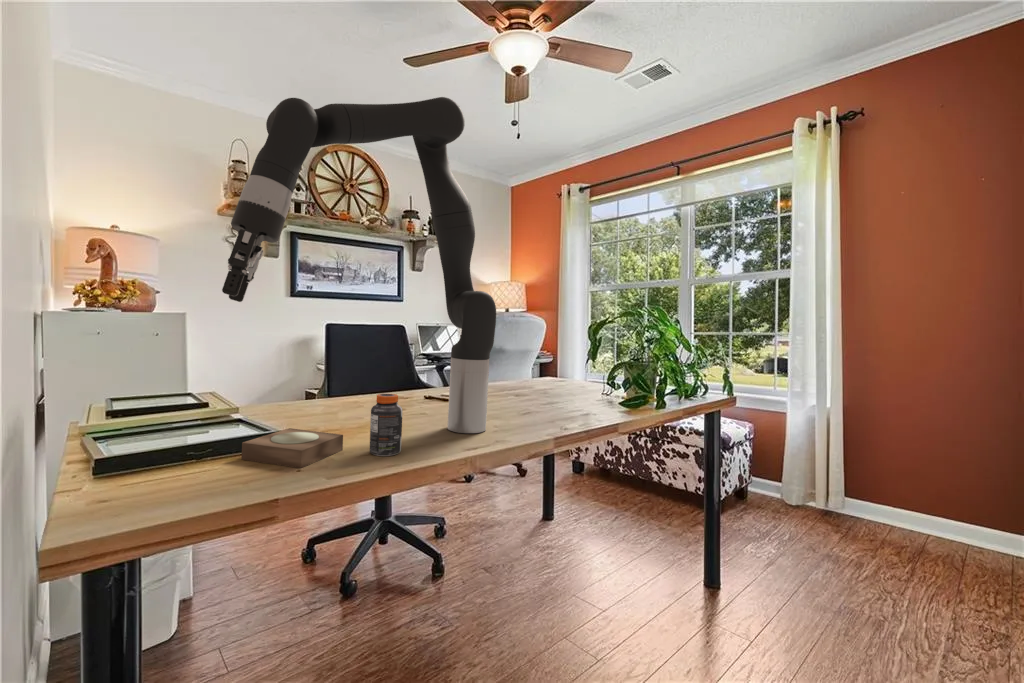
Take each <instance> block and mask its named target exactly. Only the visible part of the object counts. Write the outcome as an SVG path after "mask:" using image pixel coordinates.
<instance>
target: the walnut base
mask: <svg viewBox="0 0 1024 683" xmlns="http://www.w3.org/2000/svg"><path fill="white" fill-rule="evenodd" d="M343 444H344V434H340V433H339V434H338V433H331V432H325V431H314V430H309V429H307V430H306V429H298V428H285V429H281V430H280V431H276V432H272V433H269V434H266V435H263V436H259V437H256V438H253V439H250V440H246V441H243V442H241V460H243V461H248V462H256V463H264V464H269V465H278V466H286V467H290V468H296V469H297V468H299V469H302V468H304V467H305V468H306V467H307V466H309V465H311V464H313V463H316V462H318V461H321V460H323V459H325V458H328V457H331V456H332V455H334V454H337V453H339V452H342V451H344V450H343V449H344V446H343Z"/></svg>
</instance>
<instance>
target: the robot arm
mask: <svg viewBox="0 0 1024 683" xmlns="http://www.w3.org/2000/svg"><path fill="white" fill-rule="evenodd" d="M265 123H266V124H265V125H266V126H265V127H266V128H265V129H266V130H267V138H266V140H265V143H264V145H263V146H262V147H261V149H260V150H259V151H258V153H257V155H256V158H255V160H254V161H253V162H254V163H253V166H252V168H251V171H250V174H249V176H248V178H247V180H246V182H245V184H244V186H243V187H242V188H243V189H242V191H241V194H240V196H239V199H238V201H237V205H236V207H235V210H234V213H233V215H232V218H231V222H230V225H231V227H232V229H234V231H235V230H236V231H237V237H236V239H235V242H234V245H233V247H232V249H231V250H232V251H231V253H230V255H229V257H228V260H227V264H228V265H227V268H228V270H227V271H228V272H227V275H226V277H225V280H224V282H223V286H222V288H221V291H222V293H223V294H226V295H228V299H229V300H230V301H235V302H239V303H242V302H243V301H244V298H245V295H246V293H247V289H248V287H249V284H250V283H251V282H252V281H253V280H254V278H255V274H256V272H257V270H258V268H259V264H260V260H261V259H262V257H263V254H264V250H263V247H262V243H263V242H266V243H273V244H274V243H277V242H279V240H280V236H281V234H282V231H283V228H284V225H285V223H286V219H287V216H288V213H289V210H290V208H291V207H290V206H291V202H292V198H293V193H294V191H295V187H296V185H297V182H298V178H299V174H300V171H301V169H302V166H303V165H304V162H305V160H306V159H307V157H308V154H309V153H310V150H311V149H312V148H319V147H324V146H330V145H348V144H349V145H353V144H368V143H377V142H382V141H386V140H392V139H397V138H404V137H411V136H412V138H413V143H414V146H415V150H416V152H417V156H418V159H419V162H420V167H421V170H422V173H423V178H424V182H425V187H426V192H427V197H428V201H429V207H430V211H431V212H430V213H431V218H432V219H431V220H432V224H433V228H434V229H433V230H434V234H435V238H436V243H437V247H438V252H439V253H438V254H439V257H440V258H439V259H440V263H441V268H442V275H443V281H444V282H443V283H444V294H445V303H446V304H445V305H446V310H447V315H448V318H449V320H450V322H451V324H453V325H454V326H455V327H456V328H459V329H461V332H460V338H459V340H458V341H457V342H456V343H455V344H453V345H452V346H451V348H450V350H451V352H450V353H451V354H450V369H449V370H450V372H449V374H450V375H449V389H448V390H449V391H448V393H449V394H448V410H447V411H448V412H447V430H448V431H451V432H454V433H457V434H458V433H459V434H479V433H483V432H485V431H486V429H487V414H488V394H489V393H488V391H489V375H490V374H489V373H490V355H491V352H492V349H493V348H494V347H493V346H494V343H495V334H496V326H497V325H496V324H497V306H496V302H495V300H494V298H493V296H492V295H491V294H489V293H488V292H486V291H481V290H475V289H474V287H473V282H472V281H473V280H472V277H471V276H472V275H471V260H472V257H473V256H472V254H473V250H474V246H475V239H476V238H475V237H476V230H475V222H474V217H473V211H472V206H471V203H470V201H469V199H468V196H467V195H466V193H465V191H464V190H463V188H462V187H461V186H460V184H459V182H458V181H457V179H456V177H455V175H454V174H453V171H452V169H451V165H450V161H449V160H450V159H449V156H448V147H447V146H448V144H451V143H452V142H454V141H455V140H457V139H458V138H460V136H461V135H462V134H463V132H464V129H465V115H464V112H463V110H462V108H461V107H460V105H459V104H458V103H457V102H456V101H454V100H453V99H451V98H449V97H445V96H441V97H439V96H438V97H435V98H434V97H433V98H429V99H423V100H419V101H412V102H399V103H381V104H380V103H328V104H325V105H323V106H321V107H319V108H314V107H313V106H312V105H311V104H310V103H308V102H307V101H305V100H304V99H301V98H299V97H288V98H285V99H283V100H282V101H280V102H279V103H278V104H277V105H276V106H275V108H273V110H271V112H270V113H269V114H268V116H267V119H266V122H265Z"/></svg>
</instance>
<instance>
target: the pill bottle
mask: <svg viewBox="0 0 1024 683" xmlns="http://www.w3.org/2000/svg"><path fill="white" fill-rule="evenodd" d="M398 402H399V395H398V394H397V393H379V394H377V395H376V404H375V405H373V406H372V407H371V408H370V427H369V428H370V430H369V454H371V455H374V456H377V457H378V456H379V457H389V456H390V457H391V456H394V455H398V454H400V453H401V451H402V438H403V437H402V434H403V411H404V410H403V408H402V406H401V405H399V403H398Z"/></svg>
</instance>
